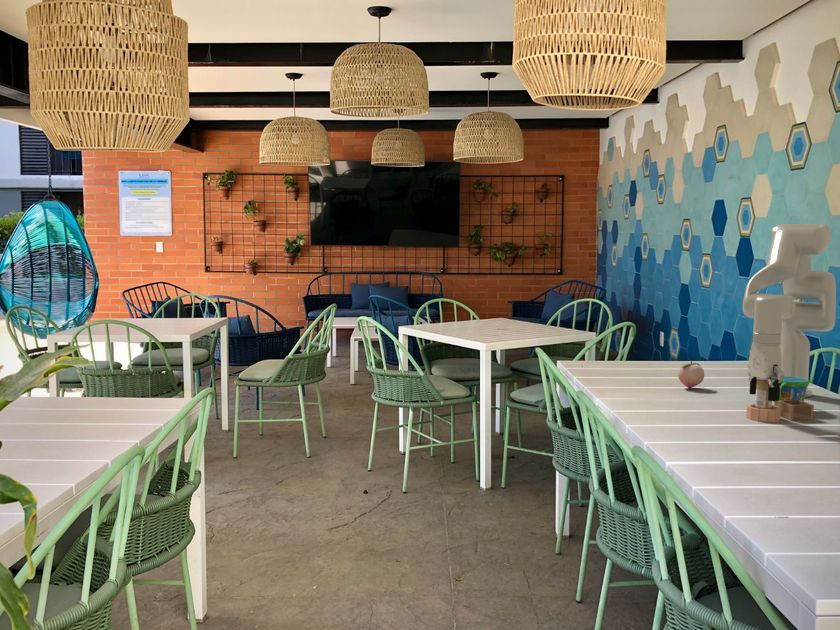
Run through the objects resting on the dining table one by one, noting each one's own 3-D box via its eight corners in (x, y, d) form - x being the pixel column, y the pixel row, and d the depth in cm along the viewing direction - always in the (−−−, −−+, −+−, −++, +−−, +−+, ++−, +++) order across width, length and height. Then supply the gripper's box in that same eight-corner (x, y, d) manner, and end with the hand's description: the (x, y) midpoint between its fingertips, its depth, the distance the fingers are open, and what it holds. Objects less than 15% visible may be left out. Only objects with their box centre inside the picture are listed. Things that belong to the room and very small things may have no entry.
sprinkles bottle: (774, 419, 237) (776, 373, 236) (760, 420, 236) (763, 374, 235) (764, 416, 242) (766, 371, 240) (751, 416, 241) (753, 371, 239)
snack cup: (787, 405, 260) (788, 373, 259) (818, 411, 251) (820, 378, 250) (757, 410, 252) (759, 378, 251) (789, 417, 243) (790, 383, 242)
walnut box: (776, 417, 243) (777, 400, 243) (798, 416, 244) (799, 400, 244) (790, 422, 236) (791, 405, 236) (812, 421, 237) (813, 404, 237)
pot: (740, 417, 243) (741, 404, 242) (768, 416, 244) (769, 403, 243) (756, 424, 234) (757, 410, 233) (786, 423, 235) (786, 409, 235)
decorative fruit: (694, 392, 281) (695, 363, 280) (673, 388, 287) (674, 360, 286) (708, 388, 287) (710, 360, 286) (687, 385, 293) (688, 357, 292)
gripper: (739, 335, 244) (736, 392, 246) (771, 343, 227) (768, 403, 229) (762, 335, 245) (759, 391, 247) (796, 343, 228) (793, 403, 230)
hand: (764, 397), depth 238 cm, fingers open, 9 cm apart
